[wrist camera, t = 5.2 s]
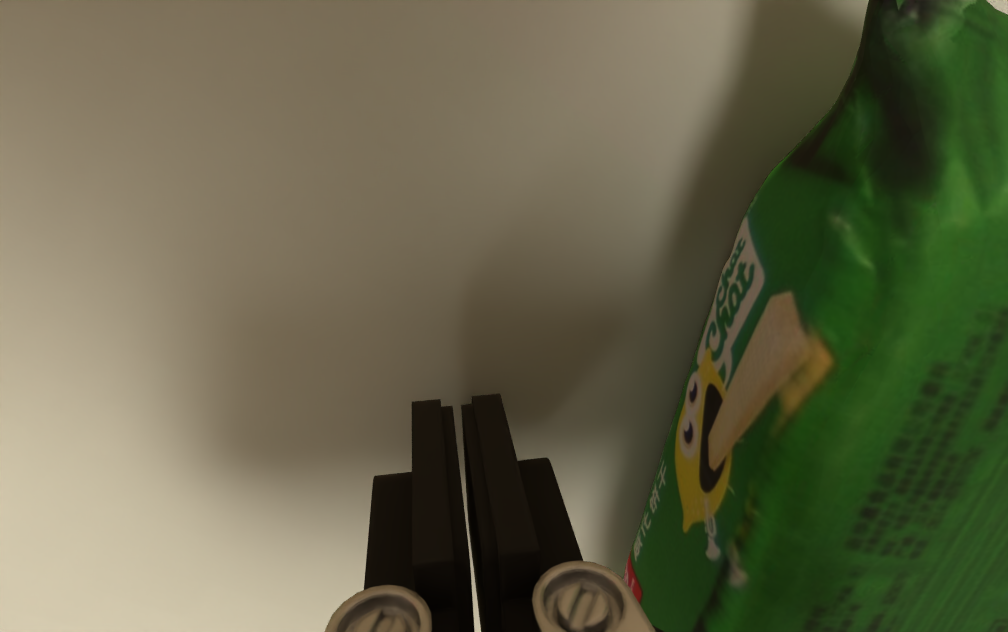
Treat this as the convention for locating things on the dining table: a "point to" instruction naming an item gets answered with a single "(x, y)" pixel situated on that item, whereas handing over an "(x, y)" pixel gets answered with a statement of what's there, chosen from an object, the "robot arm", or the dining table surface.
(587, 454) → the dining table surface
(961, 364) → the snack package
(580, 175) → the dining table surface
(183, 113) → the dining table surface
